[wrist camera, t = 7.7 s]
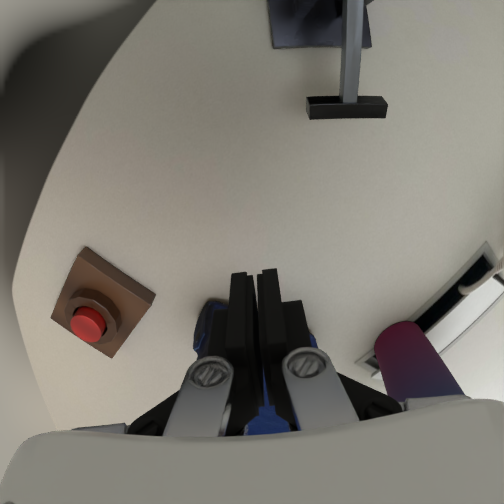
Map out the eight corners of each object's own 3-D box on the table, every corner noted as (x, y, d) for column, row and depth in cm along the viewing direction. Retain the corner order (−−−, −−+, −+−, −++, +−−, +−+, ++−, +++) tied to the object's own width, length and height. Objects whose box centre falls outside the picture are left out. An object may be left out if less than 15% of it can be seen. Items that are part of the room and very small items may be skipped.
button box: (116, 347, 41) (107, 368, 37) (57, 308, 38) (44, 326, 34) (155, 294, 37) (147, 315, 33) (85, 246, 34) (70, 263, 30)
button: (99, 338, 35) (94, 347, 34) (72, 320, 34) (66, 329, 33) (110, 319, 34) (105, 329, 32) (82, 300, 33) (76, 309, 31)
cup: (361, 327, 39) (415, 477, 20) (428, 303, 38) (507, 433, 18) (368, 373, 43) (408, 502, 24) (427, 352, 42) (483, 469, 23)
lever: (377, 106, 23) (388, 122, 21) (304, 107, 23) (310, 124, 21) (389, -60, 11) (406, -58, 10) (298, -70, 11) (305, -72, 10)
